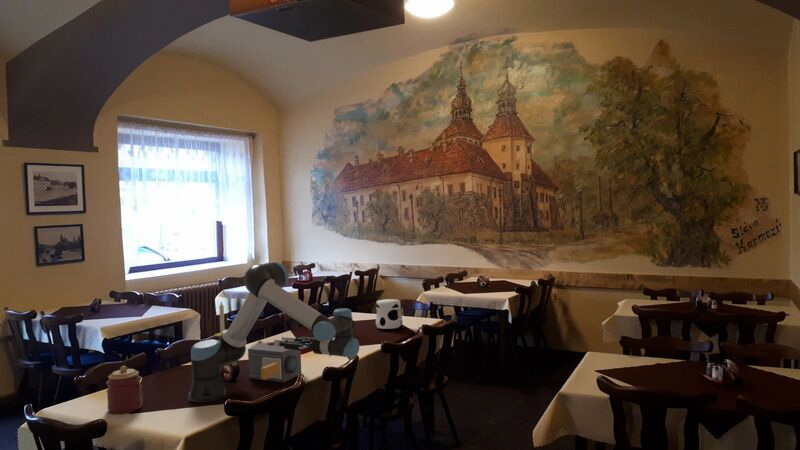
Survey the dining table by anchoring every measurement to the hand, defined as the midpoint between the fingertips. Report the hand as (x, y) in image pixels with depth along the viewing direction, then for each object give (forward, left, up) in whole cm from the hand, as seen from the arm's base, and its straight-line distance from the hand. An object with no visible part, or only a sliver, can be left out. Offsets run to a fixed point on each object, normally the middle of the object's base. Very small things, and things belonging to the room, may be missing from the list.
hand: (278, 341), depth 249 cm
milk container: (+128, +11, -22) cm, 130 cm away
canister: (-40, +48, -22) cm, 66 cm away
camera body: (+18, +17, -22) cm, 33 cm away
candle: (+28, +58, -22) cm, 68 cm away
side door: (+4, +12, -20) cm, 23 cm away
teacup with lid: (+36, +39, -22) cm, 57 cm away
